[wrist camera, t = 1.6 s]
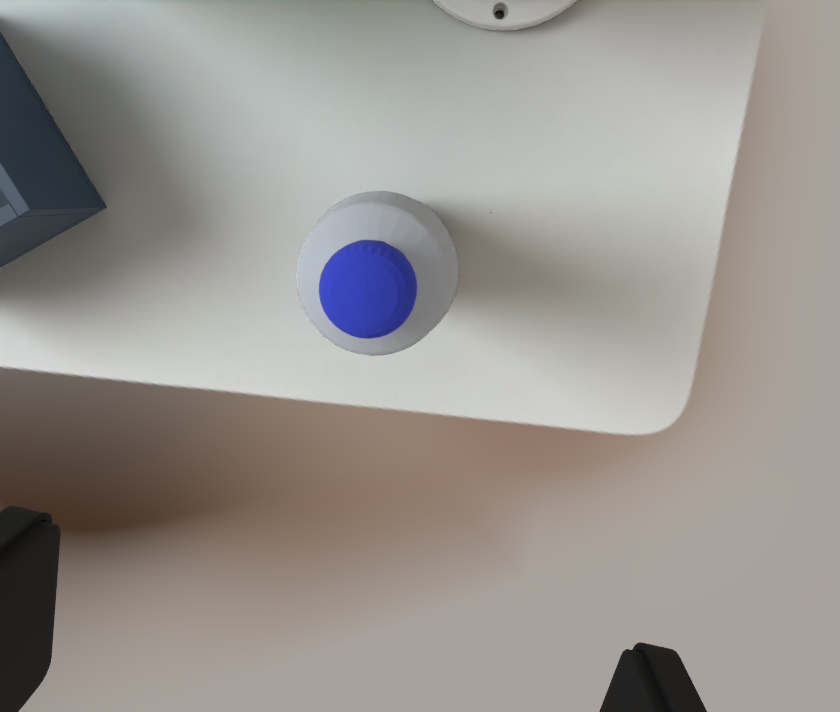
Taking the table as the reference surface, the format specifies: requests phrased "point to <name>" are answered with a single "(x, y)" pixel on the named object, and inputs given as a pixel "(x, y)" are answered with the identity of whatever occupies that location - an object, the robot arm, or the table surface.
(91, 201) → the bin
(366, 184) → the table surface
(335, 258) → the bottle
